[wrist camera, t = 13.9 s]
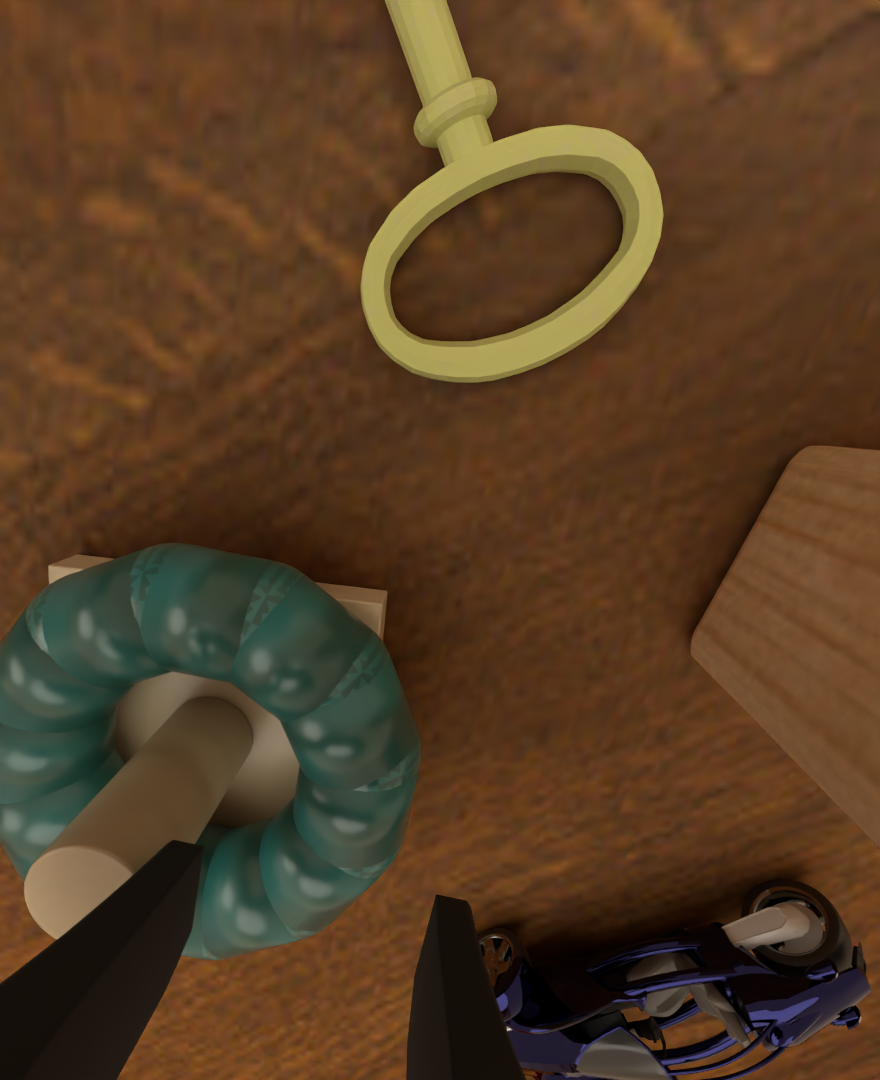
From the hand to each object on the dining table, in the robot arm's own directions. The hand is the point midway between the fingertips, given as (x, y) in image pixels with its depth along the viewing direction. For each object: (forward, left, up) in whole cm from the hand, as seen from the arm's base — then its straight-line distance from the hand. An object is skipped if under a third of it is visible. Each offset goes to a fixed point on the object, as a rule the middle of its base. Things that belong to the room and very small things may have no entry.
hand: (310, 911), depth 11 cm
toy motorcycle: (+10, -7, -7) cm, 14 cm away
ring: (-4, 0, -4) cm, 5 cm away
